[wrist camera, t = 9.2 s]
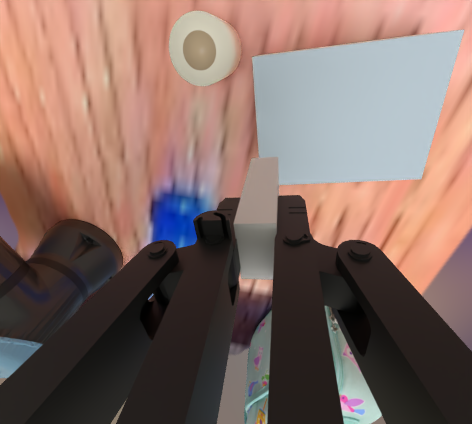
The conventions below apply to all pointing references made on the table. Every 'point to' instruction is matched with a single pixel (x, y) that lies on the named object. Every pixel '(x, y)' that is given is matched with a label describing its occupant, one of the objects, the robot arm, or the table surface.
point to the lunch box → (347, 371)
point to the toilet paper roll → (204, 48)
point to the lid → (353, 108)
